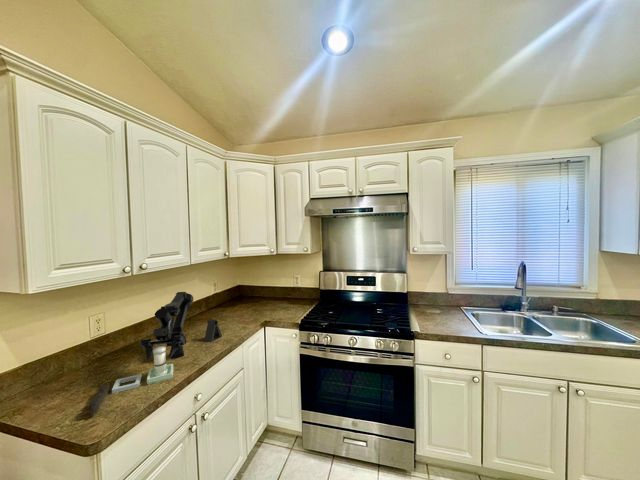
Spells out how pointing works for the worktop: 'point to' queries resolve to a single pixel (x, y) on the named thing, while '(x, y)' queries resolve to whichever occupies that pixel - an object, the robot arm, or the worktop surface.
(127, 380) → the rectangular open frame
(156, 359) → the mushroom-shaped knob
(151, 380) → the parts tray
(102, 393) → the hand tool
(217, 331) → the phone stand
